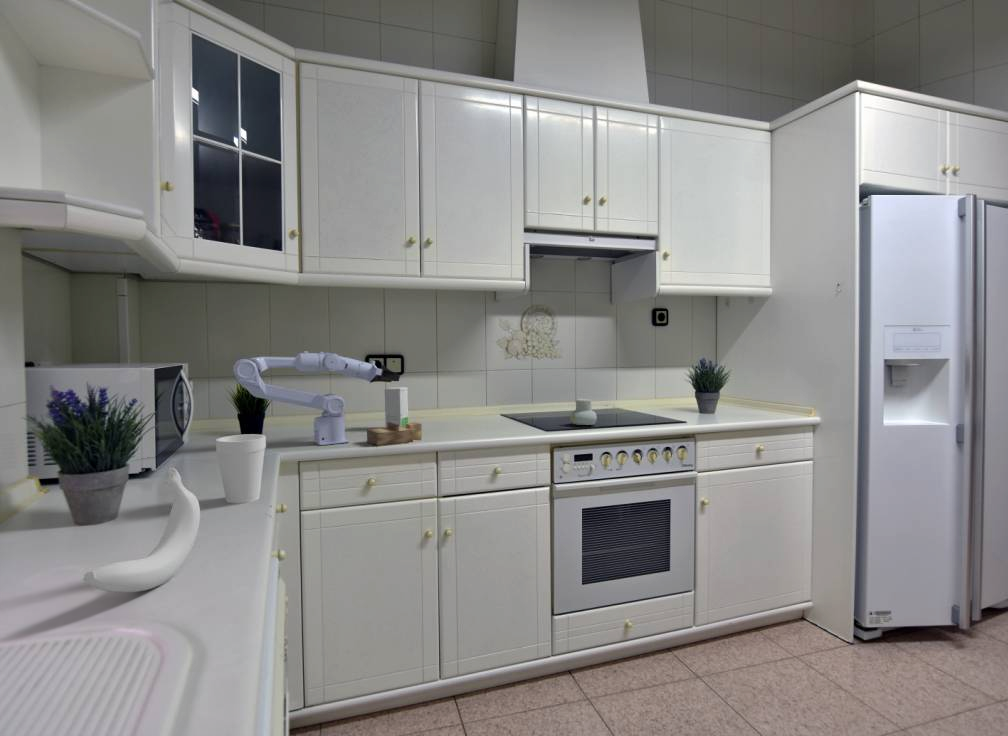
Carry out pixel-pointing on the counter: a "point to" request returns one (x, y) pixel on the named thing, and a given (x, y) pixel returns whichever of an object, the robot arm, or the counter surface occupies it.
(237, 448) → the foam cup
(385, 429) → the lid
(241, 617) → the counter surface
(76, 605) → the counter surface
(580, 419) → the air freshener
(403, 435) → the brown wooden block
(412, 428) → the brown patterned block
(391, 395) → the skincare box
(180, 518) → the banana
